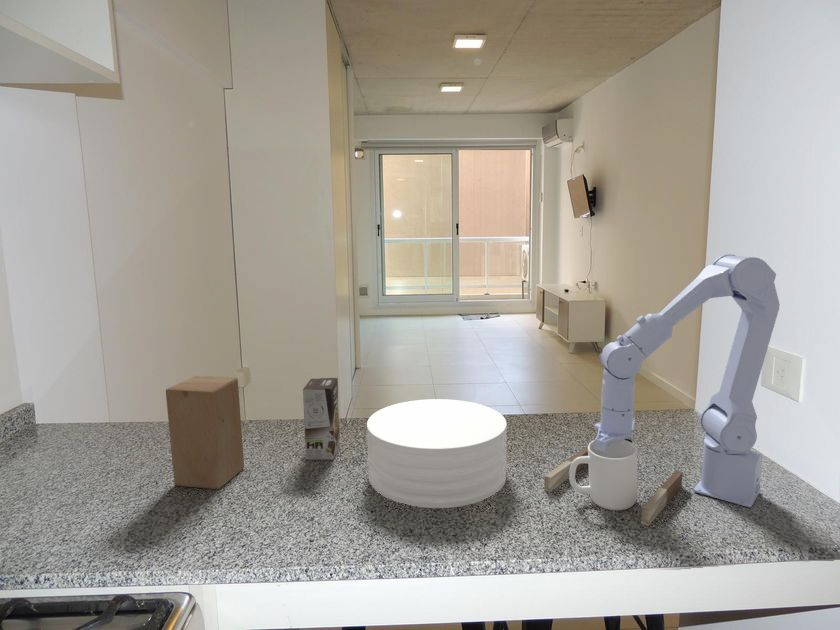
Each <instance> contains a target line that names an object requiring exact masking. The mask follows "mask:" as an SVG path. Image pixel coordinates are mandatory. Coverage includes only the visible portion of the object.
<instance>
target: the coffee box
mask: <svg viewBox="0 0 840 630" xmlns="http://www.w3.org/2000/svg"><path fill="white" fill-rule="evenodd" d="M338 381H339V380H338V377H320V378H310V380H308V382H307V383H306V384H305V385H304V387H303V388H302V394H303V395H302V396H303V397H302V401H303V402H302V403H303V421H304V425H303V426H304V441H305V442H304V443H305V444H304V445H305V459H306V460H313V461H314V460H315V461H316V460H319V461H320V460H322V461H323V460H324V461H325V460H327V461H328V460H329V461H330V460H331V461H333V460H334V459H335V457H336V454H337V452H338V451H339V448H340V445H341V428H340V426H341V425H340V409H339V407H340V405H339V383H338Z"/></svg>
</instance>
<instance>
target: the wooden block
mask: <svg viewBox="0 0 840 630" xmlns="http://www.w3.org/2000/svg"><path fill="white" fill-rule="evenodd" d="M165 395H166V396H165V397H166V399H165V400H166V410H167V421H168V429H169V430H168V431H169V442H170V451H171V452H170V453H171V461H172V472H173V482H174V485H175V486H178V487H189V488H200V489H208V490H209V489H211V490H220V489H221V488H223V487H224V486H225V485H226V484H227V483H228V482H230V481H231V480H232V479H233V478H234V477H236V476H237V474H240V472H241V471H242V470H244V468H245V458H244V457H245V456H244V445H243V443H244V442H243V433H242V419H241V418H242V416H241V405H240V404H241V403H240V402H241V401H240V390H239V379H238V377H232V376H231V377H229V376H213V375H211V376H209V375H194V376H192V377H190V378H188V379H186V380H184V381H182V382H178V383H177V384H175V385H173V386H170V387H168V388H166V389H165Z"/></svg>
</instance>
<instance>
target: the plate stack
mask: <svg viewBox="0 0 840 630" xmlns="http://www.w3.org/2000/svg"><path fill="white" fill-rule="evenodd" d="M366 421H367V422H366V432H367V435H366V438H367V439H366V440H367V441H366V442H367V457H368V459H367V466H368V467H367V468H368V470H367V471H368V472H367V473H368V482H369V484H370V486H371V485H372V486H371V487H372V489H373V488H374V489H375V490H376V491H377V492H376V491H375V490H374V489H373V490H374V491H375V492H376V493H378V494H379V493H380V494H381V495H380V494H379V495H380V496H382V495H383V496H382V497H384V498H386V499H388V498H389V499H388V500H390V499H392V500H394V501H393V502H395V501H396V502H395V503H398V502H400V503H399V504H401V503H404V504H403V505H405V504H408V505H407V506H410V505H411V507H416V506H417V507H418V508H426V509H428V508H430V509H446V508H447V509H448V508H449V509H450V508H457V507H458V508H459V507H464V506H469V505H473V504H476V503H479V502H482V501H484V499H485V500H487V499H489V498H490V496H491V497H493V496H494V495H495V493H496V492H497V493H498V492H499V491H501V489H502V488H503V487H504V485H505V483H506V482H507V440H508V439H507V438H508V437H507V429H508V428H507V426H508V425H507V424H508V423H507V420H506V418H505V417H504V416H503V414H502V413H500V412H499V411H497V410H496V409H494V408H491V407H489V406H486V405H484V404H480V403H477V402H472V401H468V400H467V401H466V400H459V399H450V398H449V399H446V398H434V399H433V398H429V399H428V398H427V399H416V400H415V399H414V400H410V401H409V400H408V401H403V402H398V403H394V404H391V405H388V406H385V407H383V408H380V409H379V410H377V411H375V412H374V413H372V414H371V415H370V416H369V417H368V420H366ZM497 493H496V494H497ZM492 495H493V496H492ZM488 497H489V498H488ZM486 498H487V499H486ZM392 500H391V501H392Z"/></svg>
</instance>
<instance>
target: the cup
mask: <svg viewBox="0 0 840 630" xmlns="http://www.w3.org/2000/svg"><path fill="white" fill-rule="evenodd" d="M587 447H588V456H581V457H577V458H576V459H574V460H573V462H572V463H571V466H570V470H569V479H568V480H569V483H570V485H571V488H572V489H573V490H574V491H575V492H577V493H579V494H589V497H590V499H591V501H592V502H593V503H594V504H595V505H596V504H597V505H596V506H598V507H600V508H603V509H606V510H609V511H624V510H628V509H630V508H632V507H633V506H634V505H635V504H636V502H637V500H638V448H637V446H636V445H635V444H634V443H633V442H632V443H631V442H629V441H627V440H620V441H616V442H613V443H611V444H610V445H608V446H607V450H606V451H605V452H603V451H599V450H596V449H594V439H593V440H592V441H590V442H589V444H588V445H587ZM581 463H588V464H587V465H588V485H583V486H582V485H579V484H578V483H577V481H576V473H575V472H576V468H577V466H578V464H581Z"/></svg>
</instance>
